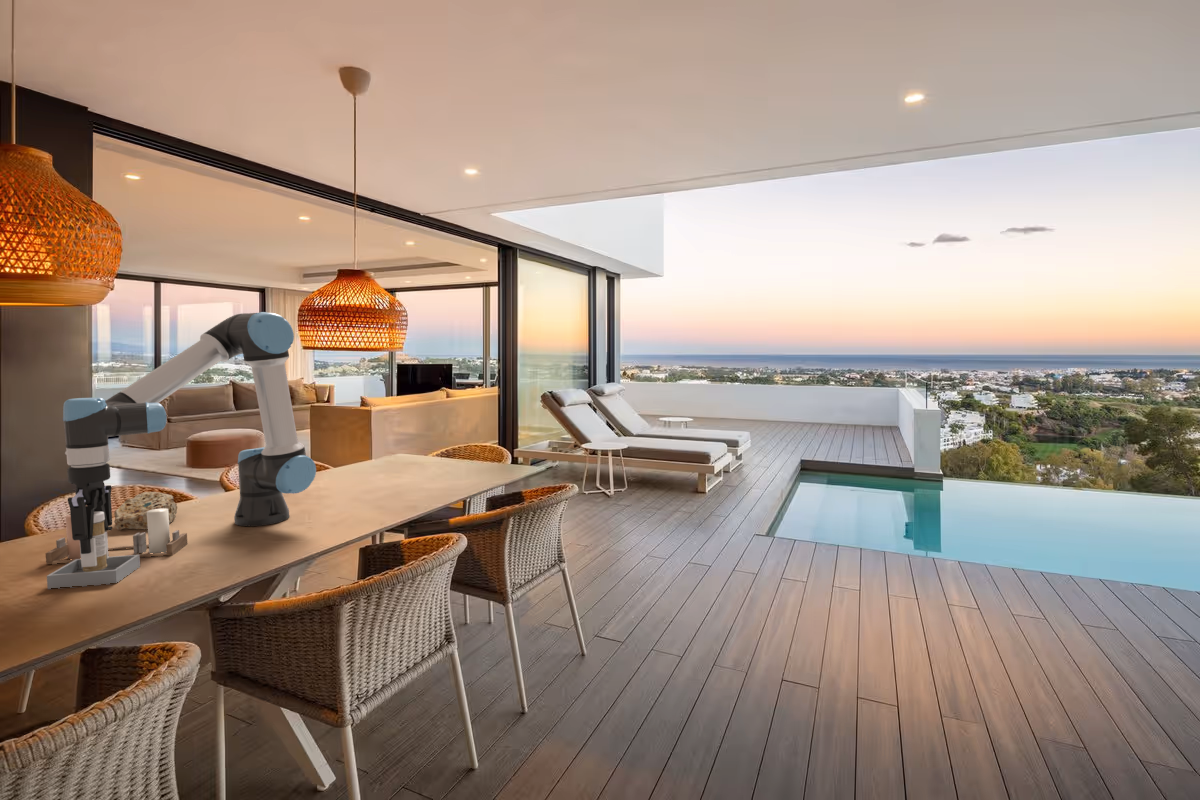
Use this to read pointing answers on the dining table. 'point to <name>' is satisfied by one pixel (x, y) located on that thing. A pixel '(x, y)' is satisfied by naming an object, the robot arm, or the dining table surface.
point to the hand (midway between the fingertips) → (95, 562)
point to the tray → (93, 572)
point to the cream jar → (158, 530)
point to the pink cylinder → (72, 541)
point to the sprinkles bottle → (98, 542)
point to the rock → (143, 509)
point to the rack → (121, 547)
